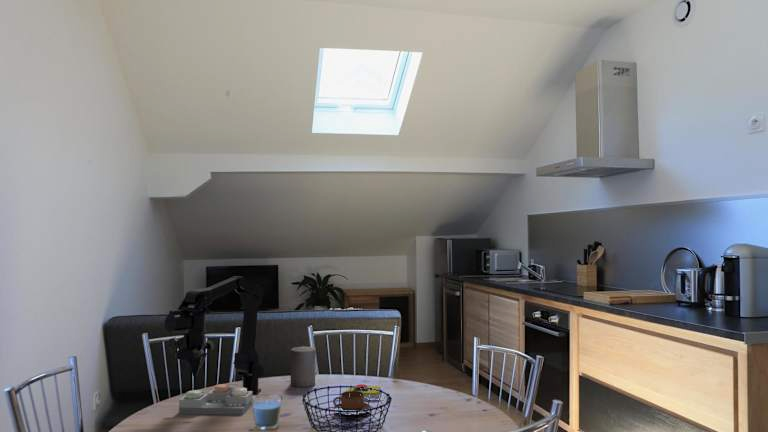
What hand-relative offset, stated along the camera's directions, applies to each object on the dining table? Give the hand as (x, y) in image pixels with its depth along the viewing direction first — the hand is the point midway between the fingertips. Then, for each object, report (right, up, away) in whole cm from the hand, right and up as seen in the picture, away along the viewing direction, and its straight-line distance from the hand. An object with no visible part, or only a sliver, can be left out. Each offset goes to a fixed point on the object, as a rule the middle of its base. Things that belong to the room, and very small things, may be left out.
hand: (194, 376), depth 183 cm
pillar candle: (+31, -13, +33) cm, 47 cm away
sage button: (0, -8, 0) cm, 8 cm away
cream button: (+14, -8, +3) cm, 16 cm away
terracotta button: (+7, -8, +7) cm, 13 cm away
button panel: (+7, -11, +3) cm, 14 cm away
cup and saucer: (+52, -12, -3) cm, 54 cm away
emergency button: (+56, -13, +16) cm, 59 cm away
